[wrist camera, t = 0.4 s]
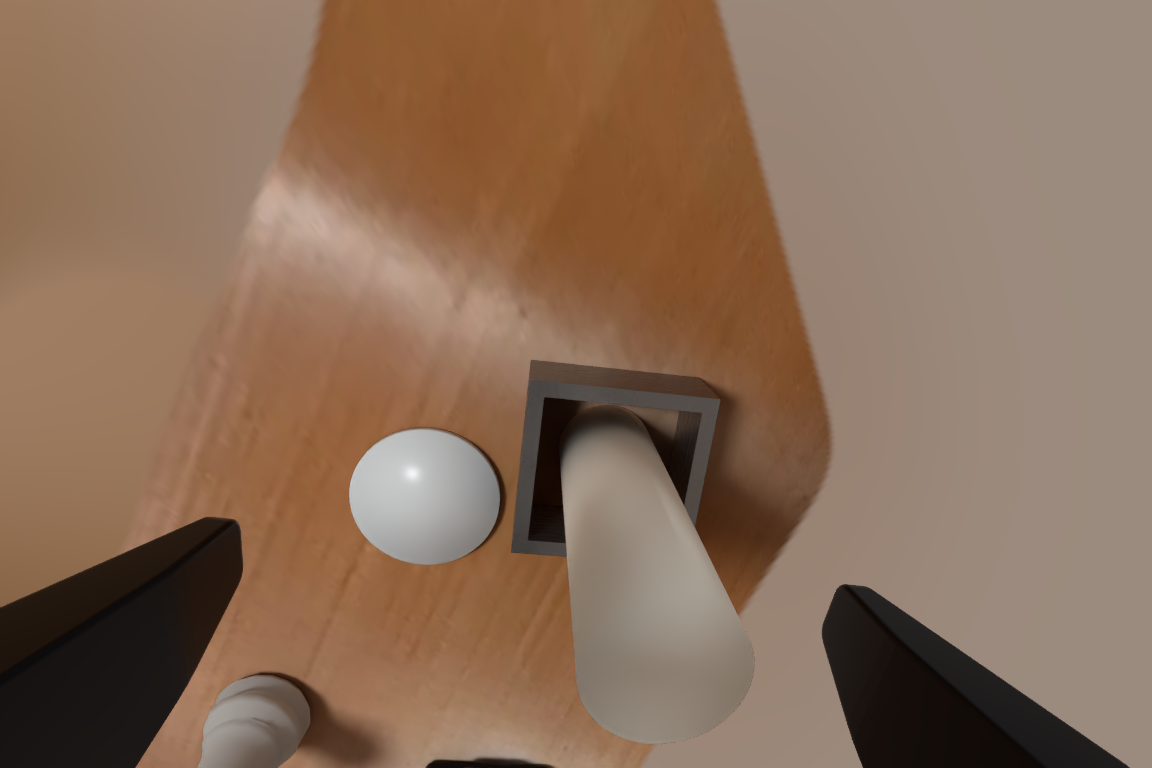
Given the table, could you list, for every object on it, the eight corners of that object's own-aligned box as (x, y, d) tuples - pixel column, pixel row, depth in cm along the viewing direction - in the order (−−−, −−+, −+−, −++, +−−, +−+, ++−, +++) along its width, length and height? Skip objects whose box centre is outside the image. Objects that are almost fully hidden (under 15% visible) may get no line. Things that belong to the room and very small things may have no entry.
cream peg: (642, 493, 26) (735, 748, 14) (554, 485, 26) (565, 739, 13) (656, 409, 25) (771, 603, 13) (564, 400, 25) (588, 589, 12)
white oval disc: (493, 564, 27) (493, 569, 26) (350, 553, 26) (348, 559, 26) (506, 434, 25) (505, 438, 25) (353, 420, 24) (350, 423, 24)
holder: (671, 528, 27) (687, 565, 24) (514, 515, 26) (510, 552, 23) (699, 377, 25) (720, 399, 22) (530, 359, 24) (529, 379, 21)
